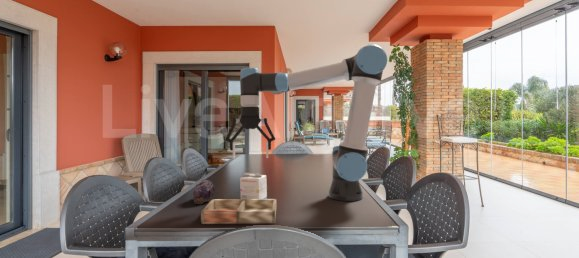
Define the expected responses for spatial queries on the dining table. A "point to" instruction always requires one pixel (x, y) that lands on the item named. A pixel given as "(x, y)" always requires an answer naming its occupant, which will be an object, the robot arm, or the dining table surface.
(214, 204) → the divided tray
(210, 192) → the rock
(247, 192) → the ink box
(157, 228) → the dining table surface
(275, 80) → the robot arm
